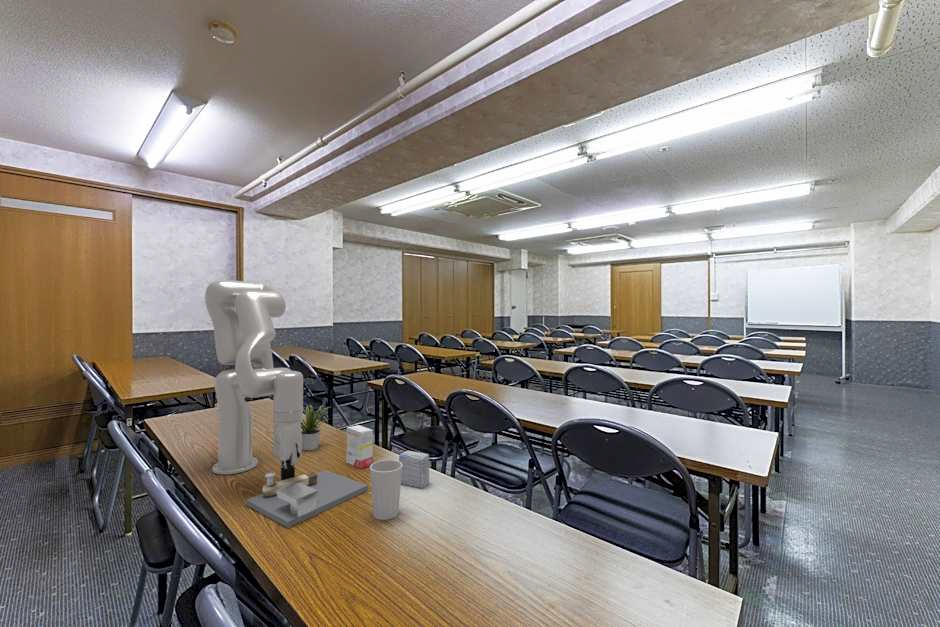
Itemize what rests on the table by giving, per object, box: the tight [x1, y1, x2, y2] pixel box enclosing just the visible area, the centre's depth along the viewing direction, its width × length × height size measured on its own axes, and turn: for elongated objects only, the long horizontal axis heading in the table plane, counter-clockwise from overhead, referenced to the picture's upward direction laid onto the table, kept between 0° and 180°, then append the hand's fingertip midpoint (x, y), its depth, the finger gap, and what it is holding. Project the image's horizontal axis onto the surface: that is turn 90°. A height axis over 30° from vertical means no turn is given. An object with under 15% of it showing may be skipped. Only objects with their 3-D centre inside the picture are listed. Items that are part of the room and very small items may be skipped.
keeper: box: [277, 483, 318, 517], centre depth 100 cm, size 8×6×4 cm
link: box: [262, 471, 317, 496], centre depth 111 cm, size 14×4×2 cm, turn 132°
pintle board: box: [245, 469, 369, 529], centre depth 109 cm, size 19×24×7 cm
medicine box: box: [398, 450, 430, 489], centre depth 119 cm, size 8×4×9 cm, turn 65°
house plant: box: [301, 403, 331, 451], centre depth 148 cm, size 14×14×16 cm
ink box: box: [345, 424, 374, 469], centre depth 134 cm, size 9×5×12 cm, turn 49°
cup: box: [369, 459, 402, 521], centre depth 101 cm, size 8×8×12 cm
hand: (287, 480), depth 113 cm, fingers closed
